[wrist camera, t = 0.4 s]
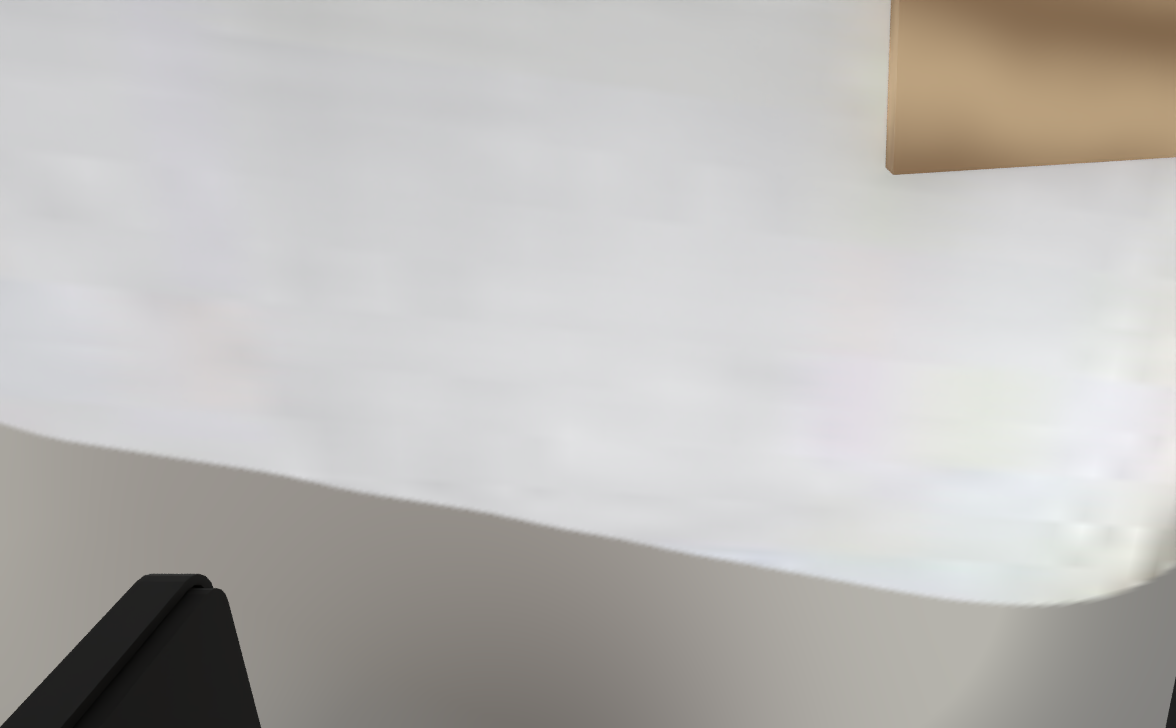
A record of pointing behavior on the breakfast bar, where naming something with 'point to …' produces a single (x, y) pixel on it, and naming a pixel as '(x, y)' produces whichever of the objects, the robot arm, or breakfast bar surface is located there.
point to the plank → (1029, 83)
